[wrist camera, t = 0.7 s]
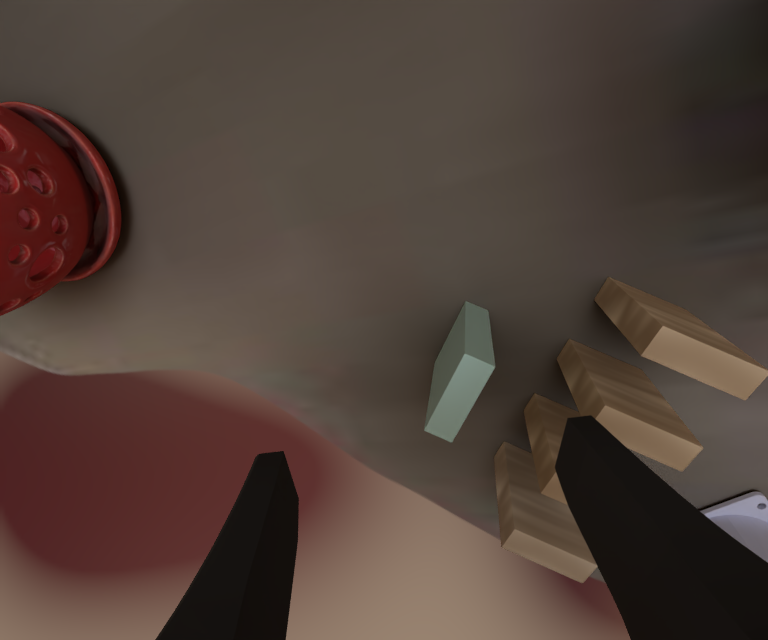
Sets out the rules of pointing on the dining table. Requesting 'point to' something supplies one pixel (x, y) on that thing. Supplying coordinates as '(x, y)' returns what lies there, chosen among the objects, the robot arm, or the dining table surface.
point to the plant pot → (50, 204)
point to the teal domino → (460, 372)
